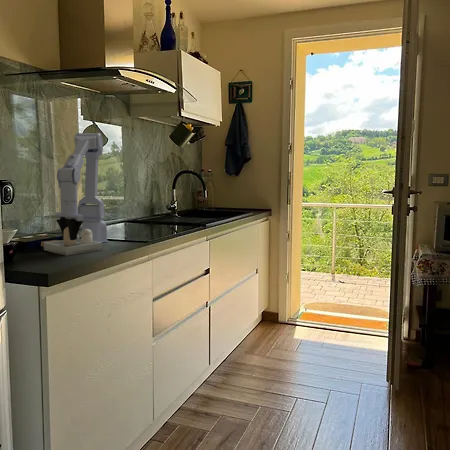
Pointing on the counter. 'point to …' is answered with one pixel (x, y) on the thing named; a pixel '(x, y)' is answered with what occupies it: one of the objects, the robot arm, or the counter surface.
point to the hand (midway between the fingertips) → (69, 239)
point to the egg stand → (47, 241)
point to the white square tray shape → (82, 245)
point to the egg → (68, 239)
